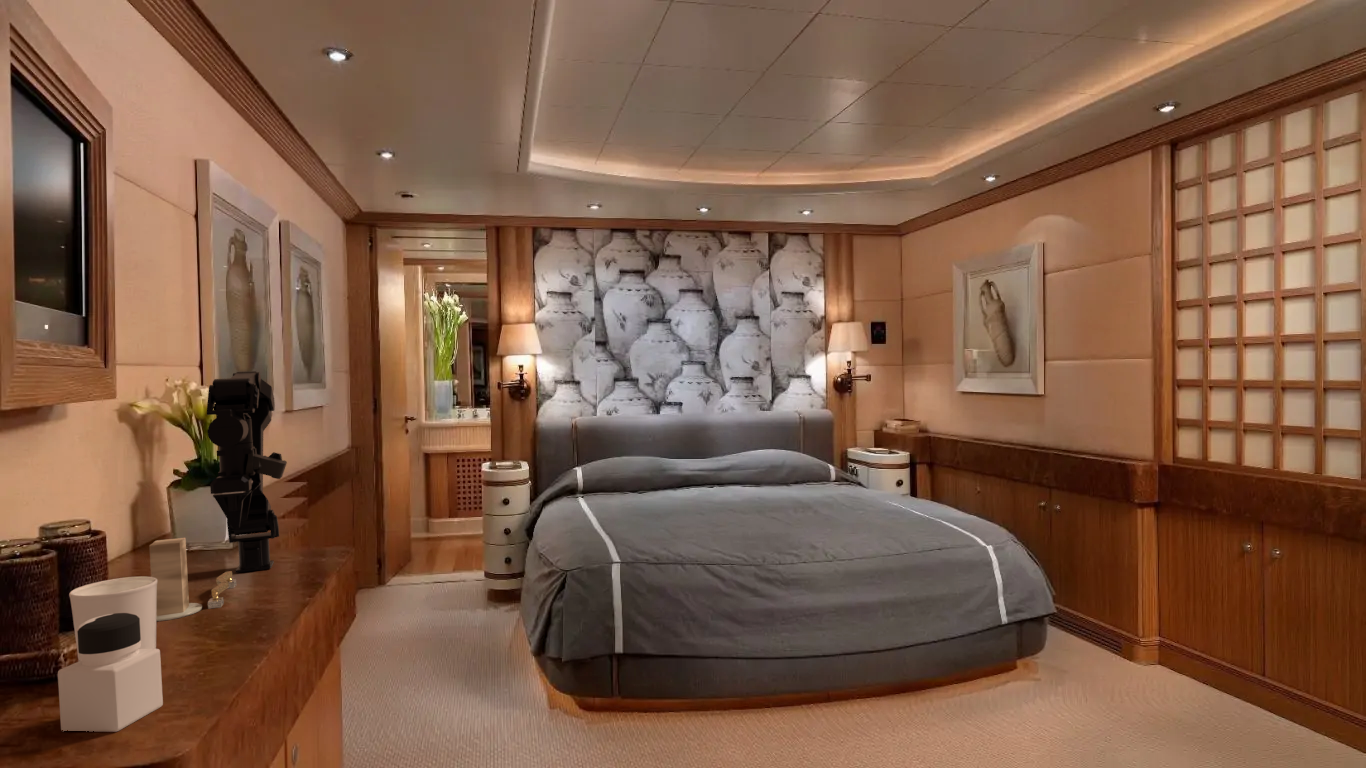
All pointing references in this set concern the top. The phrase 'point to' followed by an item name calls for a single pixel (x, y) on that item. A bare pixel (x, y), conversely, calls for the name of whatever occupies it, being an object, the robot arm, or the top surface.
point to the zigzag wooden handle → (221, 589)
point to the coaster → (189, 611)
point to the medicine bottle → (109, 677)
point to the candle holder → (119, 603)
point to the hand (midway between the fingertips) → (240, 524)
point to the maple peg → (170, 575)
